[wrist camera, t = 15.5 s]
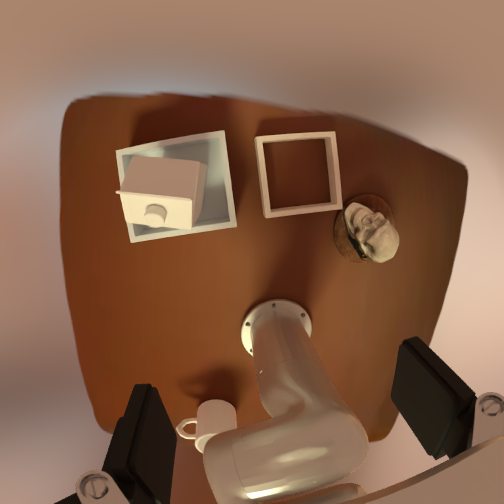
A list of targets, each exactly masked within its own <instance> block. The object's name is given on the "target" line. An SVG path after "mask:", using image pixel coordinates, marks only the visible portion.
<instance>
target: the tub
mask: <svg viewBox="0 0 504 504" xmlns="http://www.w3.org/2000/svg"><path fill="white" fill-rule="evenodd" d="M116 156H117V164H118V171H119V178H120V185H121V186H122V183H123V180H124V177H125V175H126V172H127V169H128V167H129V164H130V162H131V159H132V157H133V156H149V157H161V158H172V159H182V160H192V161H199V162H201V163H204V164H206V165H208V170H207V177H206V184H205V192H204V199H203V207H202V212H201V214H200V215H199V217H198V219H197V221H196V222H195V224H194V226H193V228H192V229H191V230H186V229H177V228H169V227H159V228H154V227H150V226H148V225H143V224H135V223H128V222H127V226H128V231H129V236H130V241H131V243H133V242H139V241H145V240H152V239H158V238H164V237H171V236H177V235H184V234H190V233H197V232H204V231H211V230H217V229H224V228H231V227H237V223H236V216H235V209H234V201H233V194H232V186H231V178H230V171H229V163H228V155H227V147H226V140H225V132H224V130H223V131H215V132H208V133H202V134H195V135H189V136H184V137H178V138H172V139H167V140H162V141H157V142H152V143H147V144H143V145H138V146H134V147H129V148H125V149H121V150H117V151H116Z"/></svg>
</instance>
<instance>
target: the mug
mask: <svg viewBox="0 0 504 504" xmlns="http://www.w3.org/2000/svg"><path fill="white" fill-rule="evenodd" d="M188 423H196V434H193V435H190V434H188V433H185V432H184V431H183V429H182V428H183V427H184V426H185V425H186V424H188ZM236 428H237V423H236V411H235V408H234V407H233V405H231V404H230V403H229V402H226V401H224V400H218V399H216V400H208V401H205V402H204V403H202V404H201V405H200V406H199V407H198V411H197V418H189V419H184V420H183V421H182V422H181V423H180V424H179V425H178V426H177V427H176V429H177V431H178V433H179V435H180V436H182V437H184V438H186V439H195V446H196V448H197V449H198V450H199V451H200V452H201V453H203V451H204V447H205V444H206V443H207V441H208V440H209V439H210V438H211V437H213V436H214V435H216V434H219V433H221V432H225V431H228V430H233V429H236Z"/></svg>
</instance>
